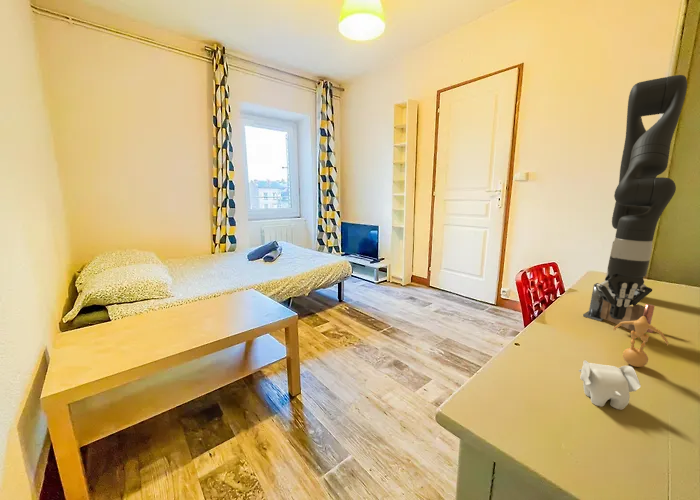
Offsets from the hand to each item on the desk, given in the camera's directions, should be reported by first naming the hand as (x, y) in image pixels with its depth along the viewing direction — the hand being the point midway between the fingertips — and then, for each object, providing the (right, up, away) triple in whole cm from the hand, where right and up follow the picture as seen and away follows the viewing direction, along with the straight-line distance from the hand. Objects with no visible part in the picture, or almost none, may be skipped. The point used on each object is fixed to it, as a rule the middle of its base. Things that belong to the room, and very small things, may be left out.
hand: (616, 318), depth 79 cm
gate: (+3, -2, +2) cm, 4 cm away
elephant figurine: (-27, -9, -26) cm, 38 cm away
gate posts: (+6, -3, +6) cm, 8 cm away
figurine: (-11, -7, -16) cm, 21 cm away
